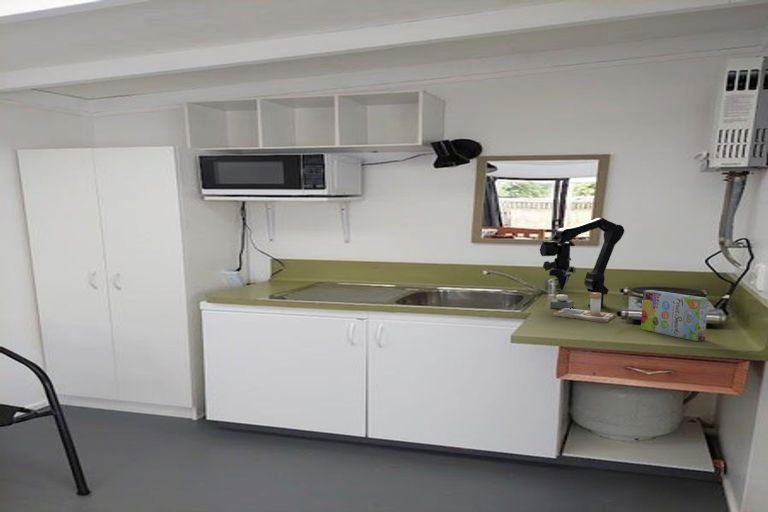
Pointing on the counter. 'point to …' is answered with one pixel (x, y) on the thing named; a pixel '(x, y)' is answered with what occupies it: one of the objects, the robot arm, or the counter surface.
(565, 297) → the button
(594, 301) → the orange topped white container
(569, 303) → the button base
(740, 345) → the counter surface
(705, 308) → the snack box
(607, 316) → the picture board
